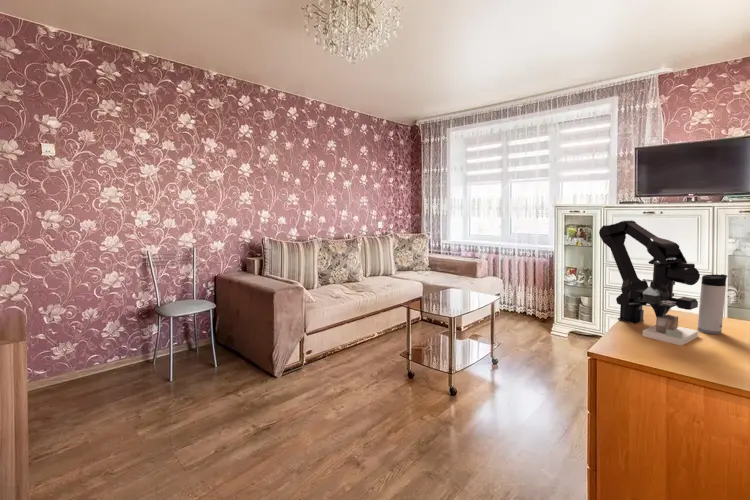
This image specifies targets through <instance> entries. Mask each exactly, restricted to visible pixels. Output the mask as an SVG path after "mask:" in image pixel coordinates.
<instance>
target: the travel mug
mask: <svg viewBox="0 0 750 500" xmlns="http://www.w3.org/2000/svg"><path fill="white" fill-rule="evenodd" d="M727 278H728V275H727V274H704V275H702V277H701V283H700V284H701V285H700V295H699V297H700V298H699V307H698V318H697V320H698V321H697V331H698V332H701V333H704V334H708V335H720V334H722V331H723V330H722V329H723V322H724V321H723V319H724V308H725V298H726V297H725V296H726V285H727V284H726V283H727Z"/></svg>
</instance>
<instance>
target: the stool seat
mask: <svg viewBox="0 0 750 500" xmlns="http://www.w3.org/2000/svg"><path fill="white" fill-rule="evenodd" d="M641 336H642V337H645V338H649V339H654V340H657V341H661V342H665V343H669V344H674V345H677V346H684V345H686V344H687V343H689V342H691V341H693V340H695V339H696V338H698V337H699V330H698V329H697V330H696V329H692V328H687V327H684V326H683V327H682V326H679V325H678V328H676V329H674V330H670V329H666V333H662V332H658V331H656V324H654V325H652V326H650V327H647V328H645V329H643V330H642V335H641Z"/></svg>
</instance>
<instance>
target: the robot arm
mask: <svg viewBox="0 0 750 500" xmlns="http://www.w3.org/2000/svg"><path fill="white" fill-rule="evenodd" d="M598 232H599V234H598V235H599V238H601V241H602V242H603V244H605V245H606V246H607V247H608V248H610V252H611V254H612V257H613V259H614V262H615V265H616V266H617V270H618V272H619V275H620V277H621V279H622V284H621V287H620V289H621V290H620V291H621V293H620V294H619V295H618V296H617V297H616V298H615V300H616V304H617V305H619V306H620V307H619V308H620V311H619V317H618V318H617V320H618V321H622V322H628V323H631V324H639V323H641V322H644V320H645V319H644V311H645V310H644V309H643V306H647V305H649V306H651V308H652V310H653V311H654V314H655V318H656V319H657V317H659V316H662V317H663V316H666V315H668V312H669V311H670V310H671V309H672V308H673V307H677V308H678V309H681V310H682V309H683V310H686V311H687V310H689V311H691V310H693V309H696V308H699V307H698V305H699V301H698V300H697V299H696V298H694V297H687V296H683V297H679V298H677V297H675V293H674V291H673V290H674V286H675V284H676V283H679V284H682V285H683V284H684V285H687V286H694V285H695V284H697V283H698V282H699V280H700V278H701V277H700V276H701V274H700V271H699V270H698V269H697V268H696V266H695V265H696V264H695V263H689V262H688V261H687V260H686V257H685V255H684V254H683V252H682V250H681V248H680V245H679V243H676V242H674V241H672V240H669V239H666V238H662V237H659V236H657V235H655V234H653V233H652V232H650V231H649V230H647V229H645V227H643V226H641V225H639V224H638V223H637V222H636V221H635V220H633V219H631V220H621V221H619V222H617V223H613V224H608V225H607V224H606V225H602V226H601V227H600V229H599V231H598ZM626 235H628V236H630V237H632V239H634V240H635V241H637V242H639V244H641V245H642V246H644V248H646V251H647V253H648V254H649V255H650V256H651V257H652V259H651V260H649V261H648V264H650V265H653V273H652V280H651V281H650V284H648V282H647V280H645V279H644V280H641V279H640V278H639V277H638V274H637V273H636V270H635V268H634V265H633V262H632V260H631V257H630V255H629V253H628V249H627V247H626V246H625V245H626V244H625V242H626V239H627V236H626ZM620 319H621V320H620Z"/></svg>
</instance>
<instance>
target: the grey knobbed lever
mask: <svg viewBox="0 0 750 500" xmlns="http://www.w3.org/2000/svg"><path fill="white" fill-rule="evenodd" d="M655 320H656V322H655V325H656V331H658V332H662V333H666V329H670V330H674V329H676V328H678V326H679V325H678V324H679V316H677V315H672V314H666V316H663V317H662V316H659V317H657V318H656V319H655Z"/></svg>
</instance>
